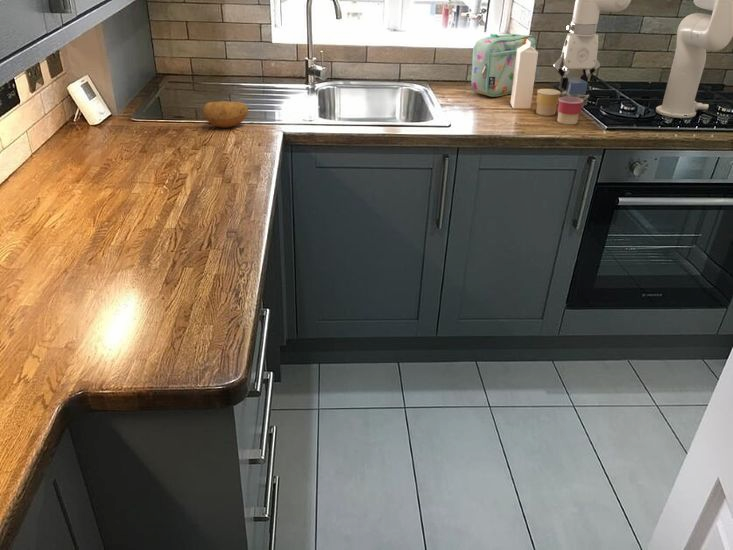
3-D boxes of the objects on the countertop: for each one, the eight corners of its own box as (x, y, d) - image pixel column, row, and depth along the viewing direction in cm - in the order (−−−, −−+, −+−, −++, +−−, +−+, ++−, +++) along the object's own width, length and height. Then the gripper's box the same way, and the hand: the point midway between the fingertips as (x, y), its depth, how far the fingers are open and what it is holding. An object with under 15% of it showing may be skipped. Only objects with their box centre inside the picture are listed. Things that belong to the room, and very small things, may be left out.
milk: (513, 108, 213) (521, 42, 201) (509, 103, 218) (517, 38, 206) (530, 108, 213) (539, 42, 201) (527, 103, 218) (535, 38, 206)
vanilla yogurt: (555, 110, 211) (558, 89, 207) (558, 116, 205) (561, 94, 201) (533, 109, 212) (536, 88, 208) (535, 115, 206) (538, 94, 202)
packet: (575, 87, 199) (577, 76, 197) (585, 94, 192) (588, 82, 190) (558, 88, 198) (560, 76, 196) (568, 94, 191) (571, 82, 189)
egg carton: (551, 104, 218) (553, 92, 216) (560, 99, 223) (562, 88, 221) (580, 109, 212) (583, 97, 210) (589, 104, 217) (591, 93, 215)
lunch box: (485, 101, 220) (492, 38, 209) (465, 95, 228) (470, 34, 217) (534, 90, 234) (542, 31, 223) (514, 84, 241) (521, 27, 230)
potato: (250, 129, 191) (248, 104, 187) (204, 132, 189) (201, 106, 185) (249, 120, 200) (246, 96, 195) (205, 123, 197) (201, 98, 193)
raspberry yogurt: (577, 118, 203) (581, 96, 199) (581, 125, 196) (585, 103, 193) (553, 117, 204) (557, 95, 200) (556, 124, 197) (560, 102, 194)
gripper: (561, 31, 181) (551, 93, 191) (615, 31, 183) (603, 92, 192) (551, 27, 188) (542, 87, 197) (604, 27, 189) (592, 86, 199)
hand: (572, 89), depth 195 cm, fingers closed on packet, 5 cm apart
